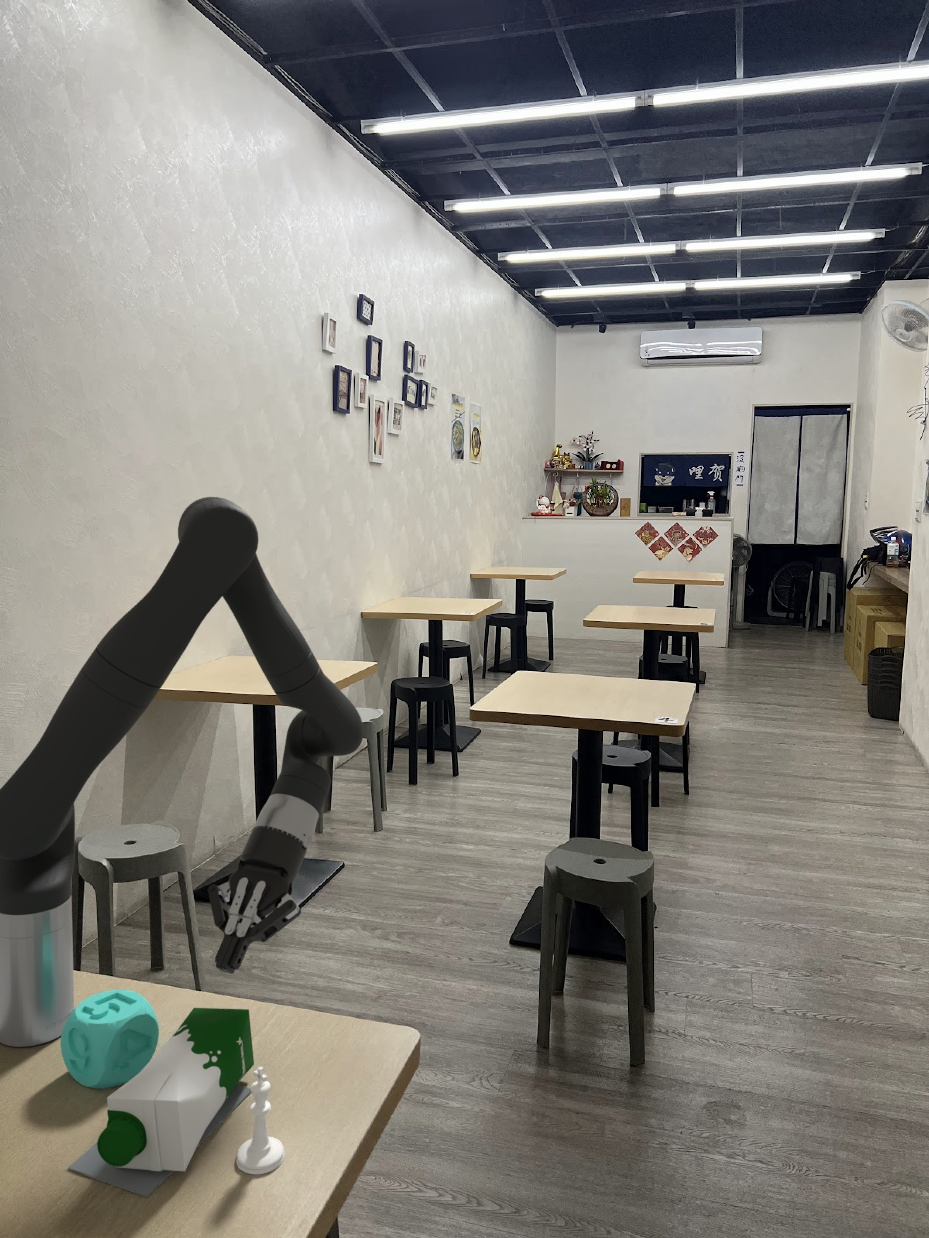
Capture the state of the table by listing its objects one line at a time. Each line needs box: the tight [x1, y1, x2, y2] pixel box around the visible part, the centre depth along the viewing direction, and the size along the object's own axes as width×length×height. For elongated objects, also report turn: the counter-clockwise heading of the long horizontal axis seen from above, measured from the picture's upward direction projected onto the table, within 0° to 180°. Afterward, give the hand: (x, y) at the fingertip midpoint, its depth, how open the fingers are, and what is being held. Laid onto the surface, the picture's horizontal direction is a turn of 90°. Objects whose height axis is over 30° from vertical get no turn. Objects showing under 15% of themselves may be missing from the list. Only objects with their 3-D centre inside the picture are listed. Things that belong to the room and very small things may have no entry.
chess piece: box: [235, 1066, 285, 1176], centre depth 94 cm, size 5×5×10 cm
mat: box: [67, 1084, 252, 1198], centre depth 98 cm, size 10×18×1 cm, turn 159°
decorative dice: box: [60, 989, 160, 1090], centre depth 108 cm, size 8×8×8 cm
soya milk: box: [96, 1007, 255, 1172], centre depth 98 cm, size 9×9×20 cm
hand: (224, 970), depth 107 cm, fingers closed
